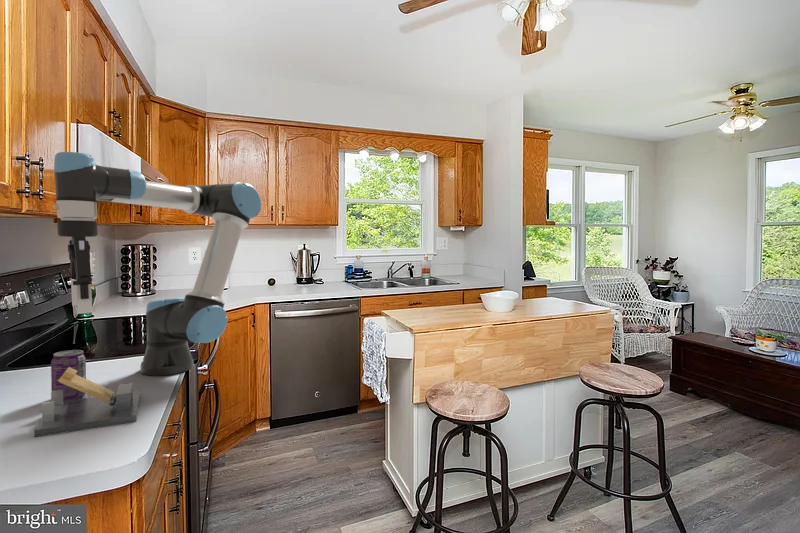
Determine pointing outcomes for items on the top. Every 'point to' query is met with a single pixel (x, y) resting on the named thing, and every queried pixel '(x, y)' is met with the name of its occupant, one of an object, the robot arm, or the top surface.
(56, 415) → the clamp base
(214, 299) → the robot arm
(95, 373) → the top surface
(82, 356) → the beverage can
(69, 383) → the tan flat panel
